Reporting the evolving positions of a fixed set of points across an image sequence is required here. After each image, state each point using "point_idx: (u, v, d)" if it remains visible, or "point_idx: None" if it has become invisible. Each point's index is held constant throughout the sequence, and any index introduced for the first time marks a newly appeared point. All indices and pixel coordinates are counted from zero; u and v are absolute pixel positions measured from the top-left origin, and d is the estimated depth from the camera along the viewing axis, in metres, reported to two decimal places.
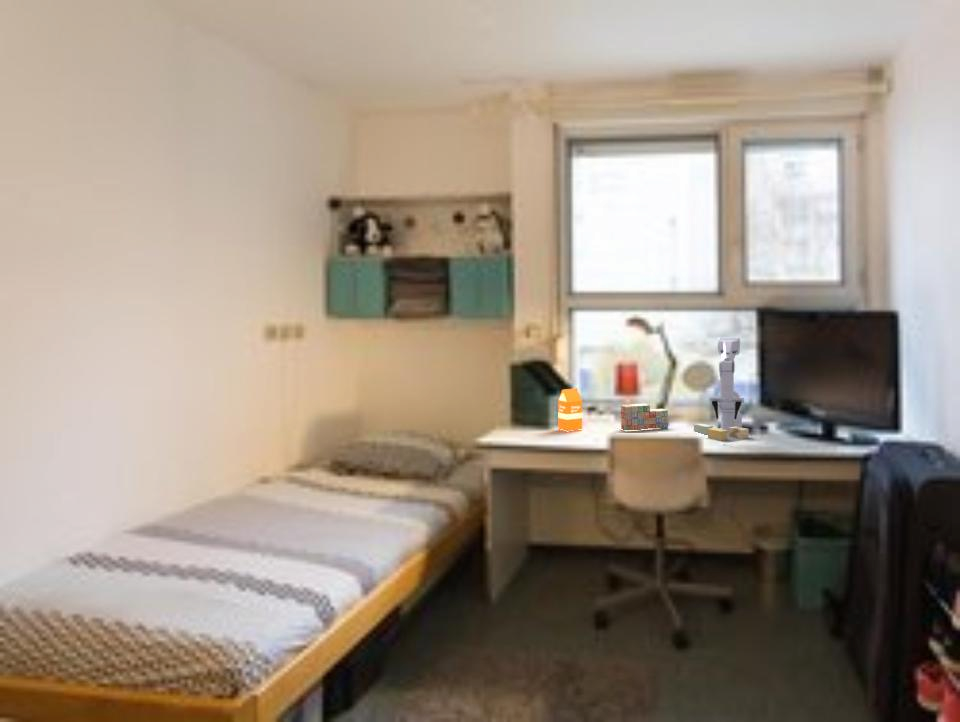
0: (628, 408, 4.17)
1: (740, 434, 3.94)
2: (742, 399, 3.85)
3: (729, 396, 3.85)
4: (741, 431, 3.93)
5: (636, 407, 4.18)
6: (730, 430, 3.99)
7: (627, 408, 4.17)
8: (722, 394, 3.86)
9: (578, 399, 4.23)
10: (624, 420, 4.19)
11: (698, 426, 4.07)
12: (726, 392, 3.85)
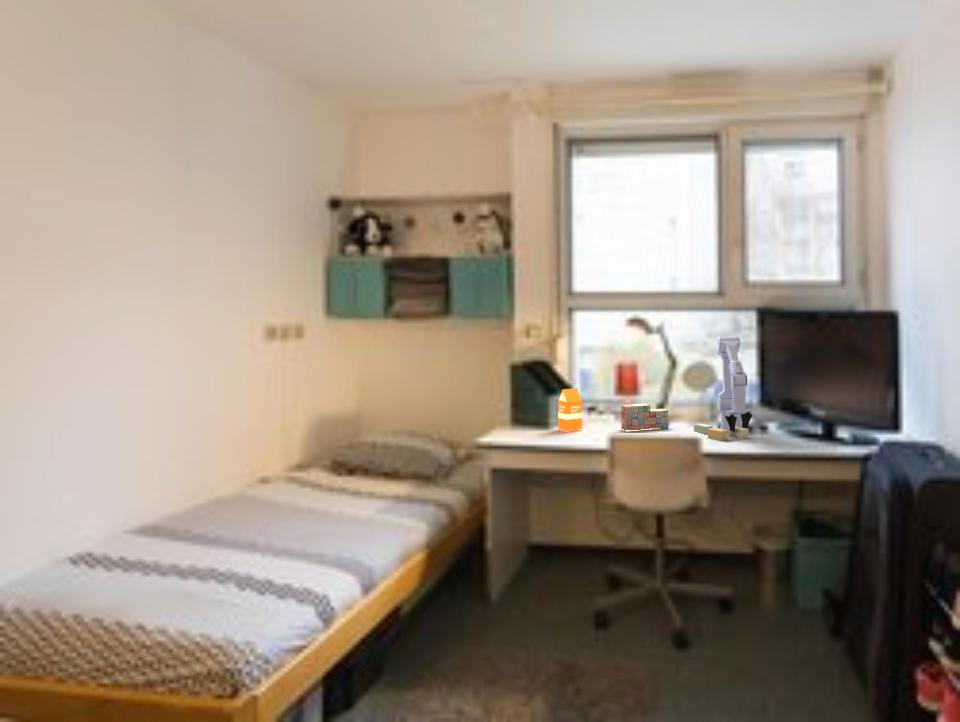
0: (628, 408, 4.17)
1: (740, 434, 3.94)
2: (751, 410, 3.99)
3: (744, 409, 3.94)
4: (741, 431, 3.93)
5: (636, 407, 4.18)
6: None
7: (627, 408, 4.17)
8: (739, 407, 3.93)
9: (578, 399, 4.23)
10: (624, 420, 4.19)
11: (698, 426, 4.07)
12: (743, 405, 3.93)
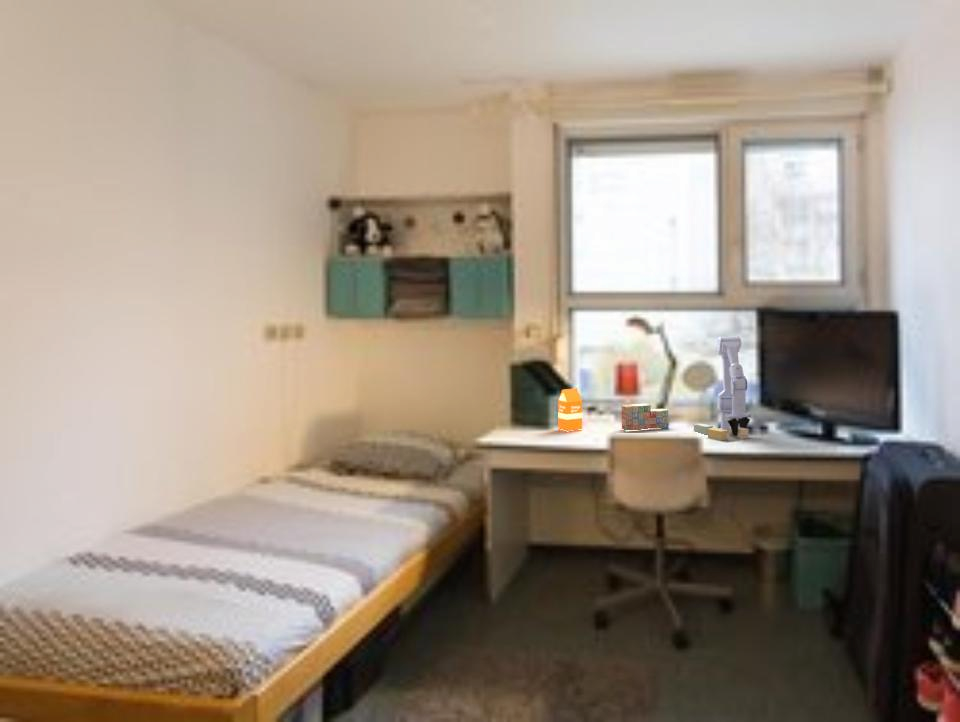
0: (629, 408, 4.17)
1: (740, 434, 3.94)
2: (751, 414, 3.99)
3: (744, 413, 3.95)
4: (741, 431, 3.93)
5: (637, 407, 4.18)
6: (730, 430, 3.99)
7: (628, 408, 4.17)
8: (739, 412, 3.93)
9: (578, 399, 4.23)
10: (625, 420, 4.19)
11: (698, 426, 4.07)
12: (743, 410, 3.94)
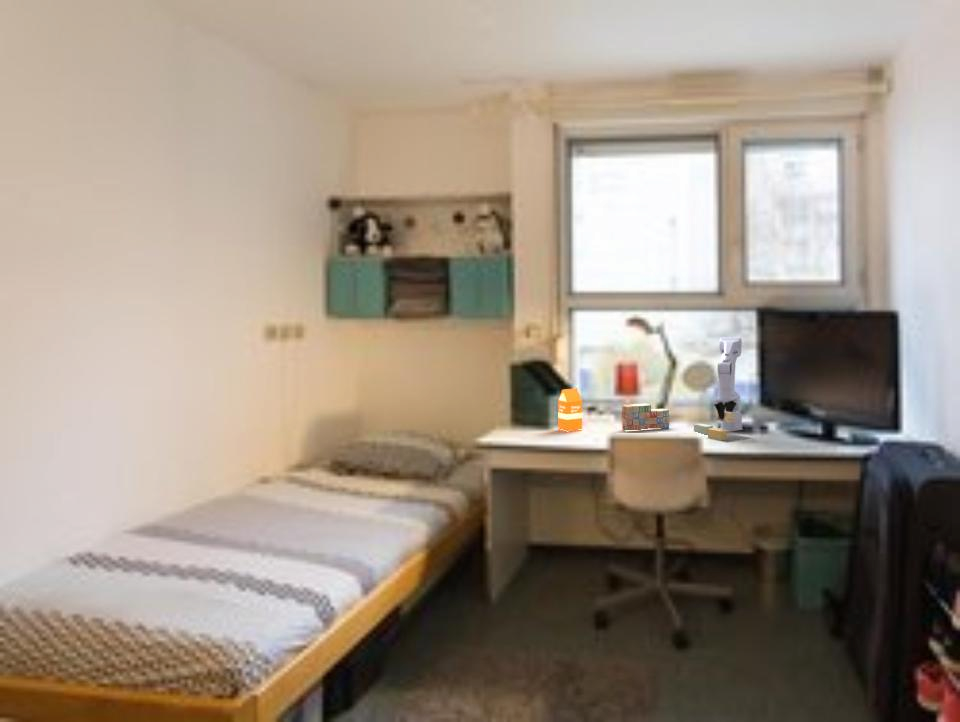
0: (629, 408, 4.17)
1: (726, 418, 3.97)
2: (737, 398, 4.02)
3: (731, 397, 3.98)
4: (728, 415, 3.96)
5: (637, 407, 4.18)
6: (716, 414, 4.02)
7: (628, 408, 4.17)
8: (725, 395, 3.96)
9: (578, 399, 4.23)
10: (625, 420, 4.19)
11: (698, 426, 4.07)
12: (729, 393, 3.97)
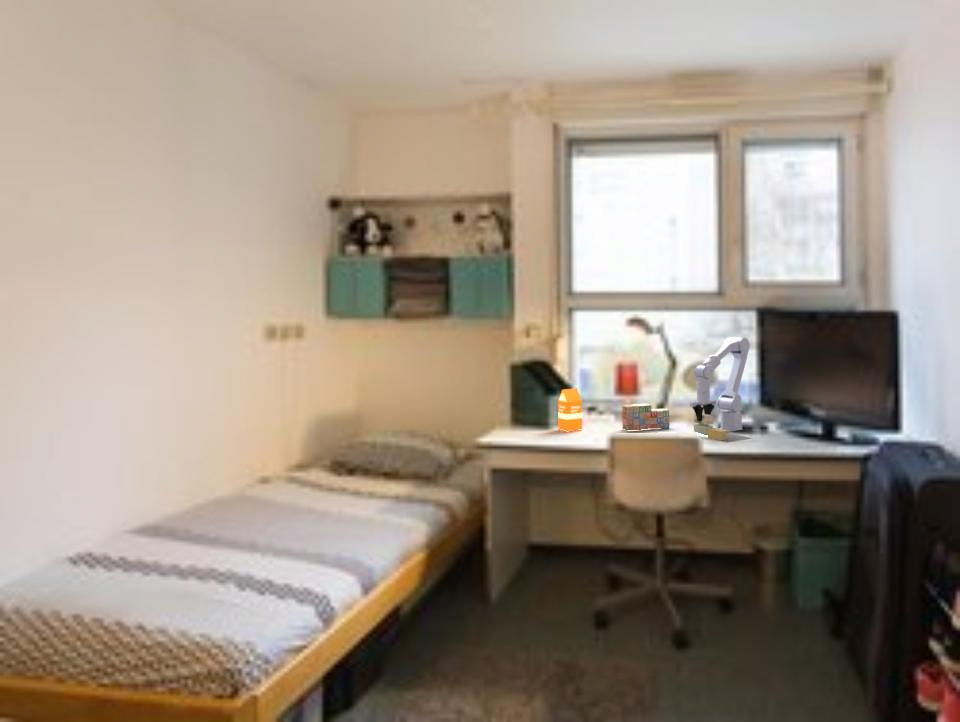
0: (630, 408, 4.17)
1: (704, 421, 4.03)
2: (715, 401, 4.08)
3: (709, 400, 4.04)
4: (706, 417, 4.02)
5: (638, 407, 4.18)
6: (695, 417, 4.08)
7: (629, 408, 4.17)
8: (703, 398, 4.03)
9: (578, 399, 4.23)
10: (626, 420, 4.19)
11: (698, 426, 4.07)
12: (707, 396, 4.03)
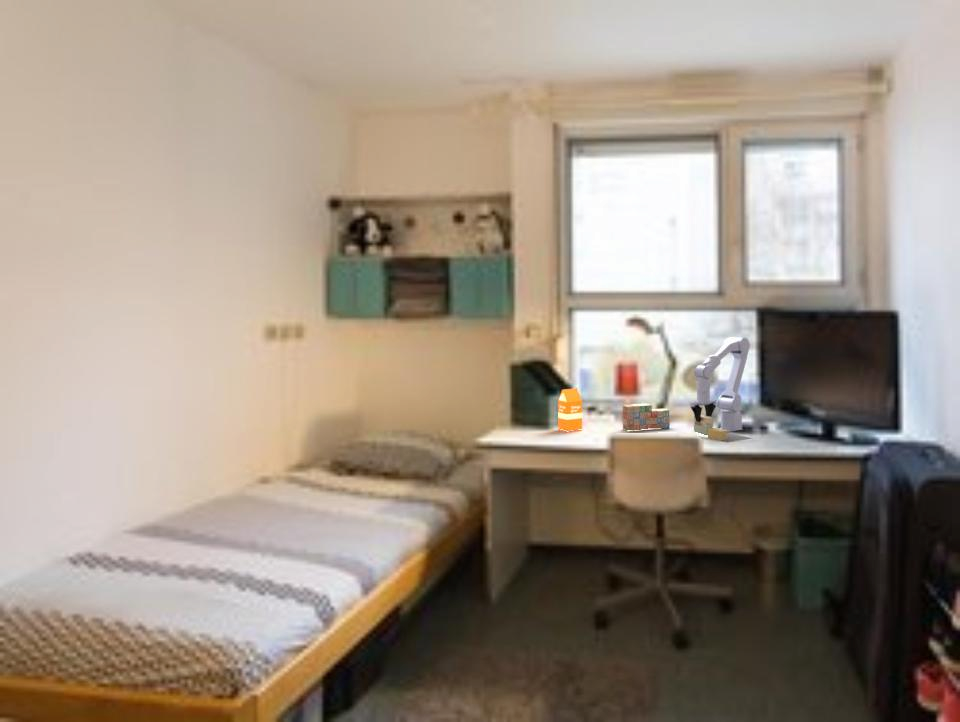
0: (630, 408, 4.17)
1: (704, 423, 4.03)
2: (715, 401, 4.08)
3: (709, 400, 4.04)
4: (705, 419, 4.02)
5: (638, 407, 4.18)
6: (695, 419, 4.08)
7: (629, 408, 4.17)
8: (703, 398, 4.03)
9: (578, 399, 4.23)
10: (626, 420, 4.19)
11: (698, 426, 4.07)
12: (707, 396, 4.03)
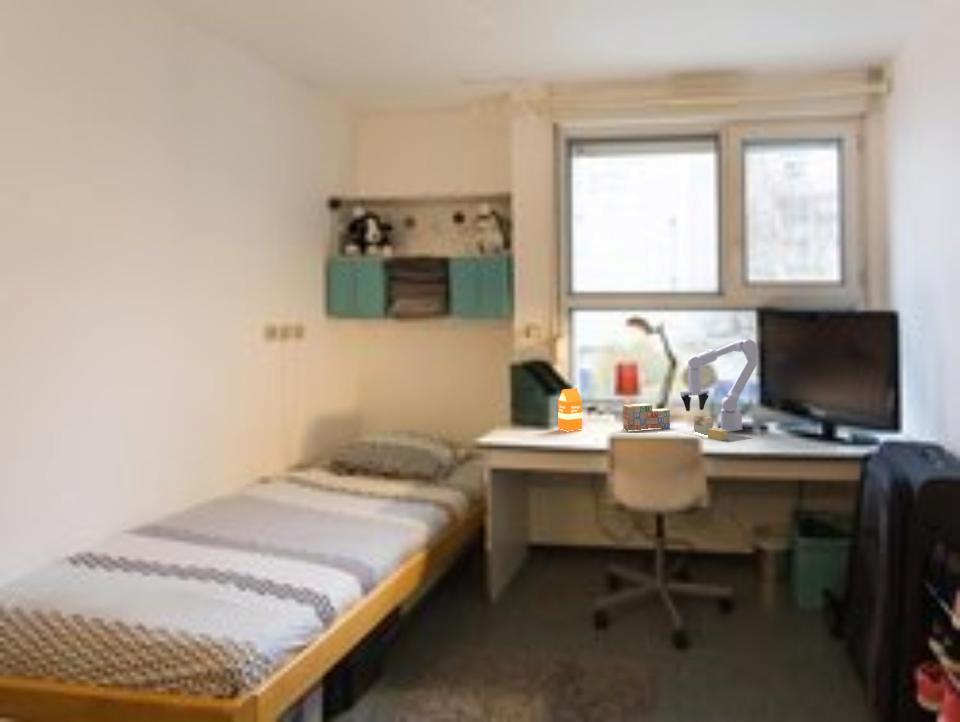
0: (630, 408, 4.18)
1: (704, 423, 4.03)
2: (707, 391, 4.18)
3: (699, 390, 4.15)
4: (705, 419, 4.02)
5: (638, 407, 4.18)
6: (695, 419, 4.08)
7: (629, 408, 4.17)
8: (694, 388, 4.14)
9: (578, 399, 4.23)
10: (626, 420, 4.20)
11: (698, 426, 4.07)
12: (698, 386, 4.14)
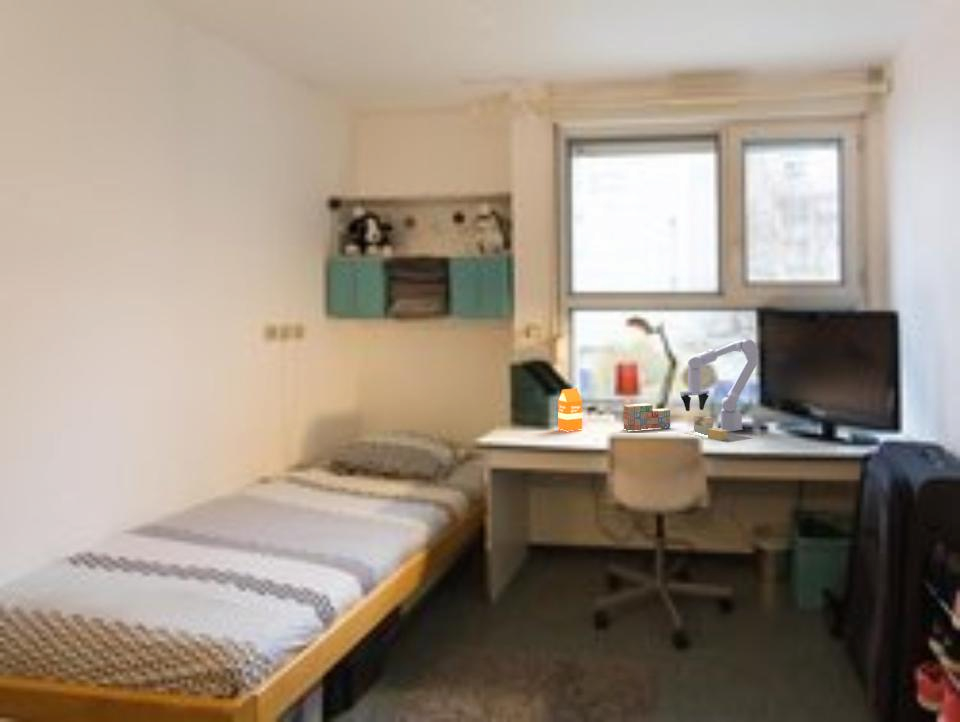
0: (631, 408, 4.18)
1: (704, 423, 4.03)
2: (707, 391, 4.18)
3: (699, 390, 4.15)
4: (705, 419, 4.02)
5: (639, 407, 4.18)
6: (695, 419, 4.08)
7: (630, 408, 4.17)
8: (693, 388, 4.14)
9: (578, 399, 4.23)
10: (627, 420, 4.20)
11: (698, 426, 4.07)
12: (697, 386, 4.14)
